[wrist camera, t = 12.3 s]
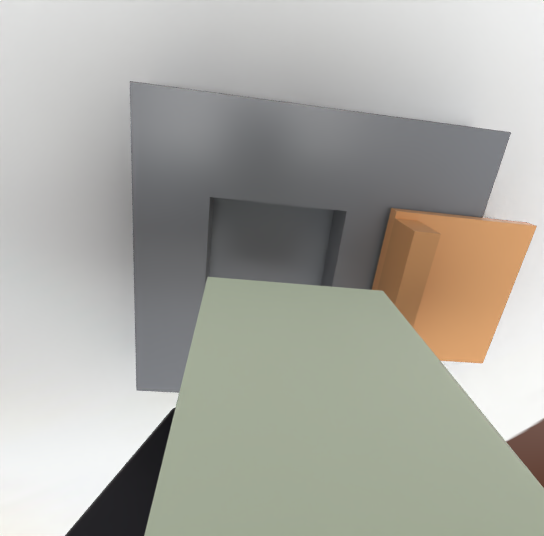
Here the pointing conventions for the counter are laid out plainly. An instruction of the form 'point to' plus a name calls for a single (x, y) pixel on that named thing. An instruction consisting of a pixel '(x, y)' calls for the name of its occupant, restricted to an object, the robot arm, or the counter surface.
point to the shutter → (451, 276)
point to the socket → (275, 200)
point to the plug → (329, 427)
